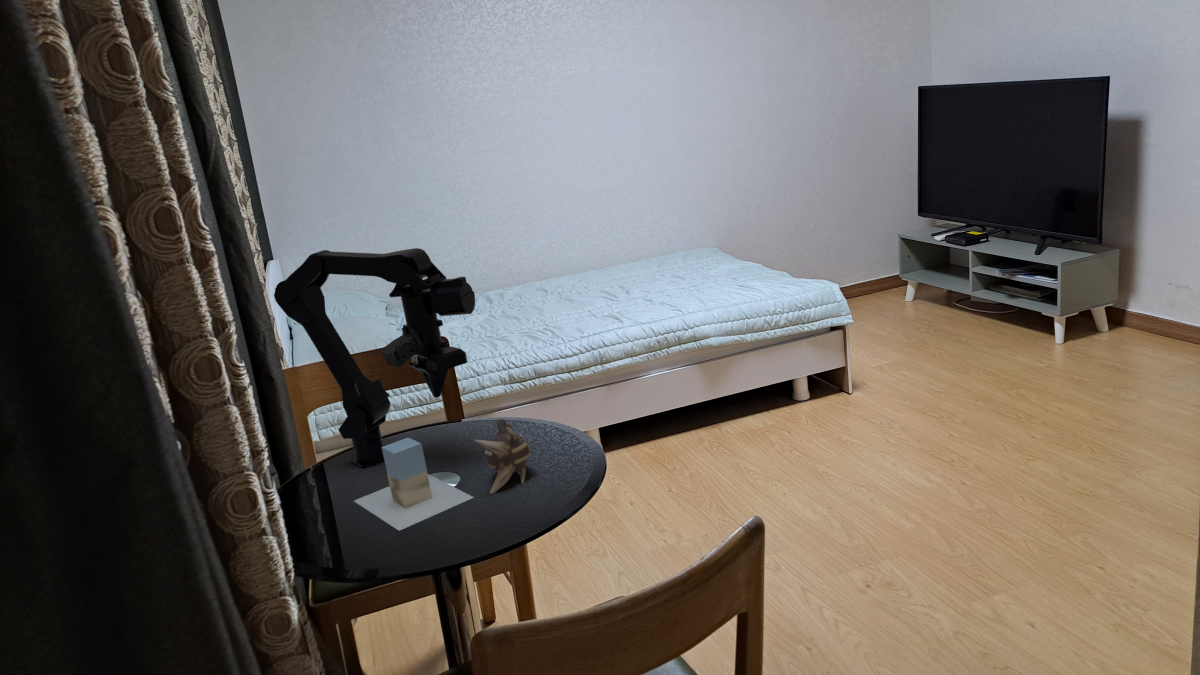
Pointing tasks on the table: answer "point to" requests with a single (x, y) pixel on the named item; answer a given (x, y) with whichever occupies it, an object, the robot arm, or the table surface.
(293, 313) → the robot arm
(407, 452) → the blue block
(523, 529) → the table surface
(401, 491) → the maple block
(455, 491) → the board
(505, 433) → the toy
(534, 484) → the table surface
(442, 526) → the table surface
